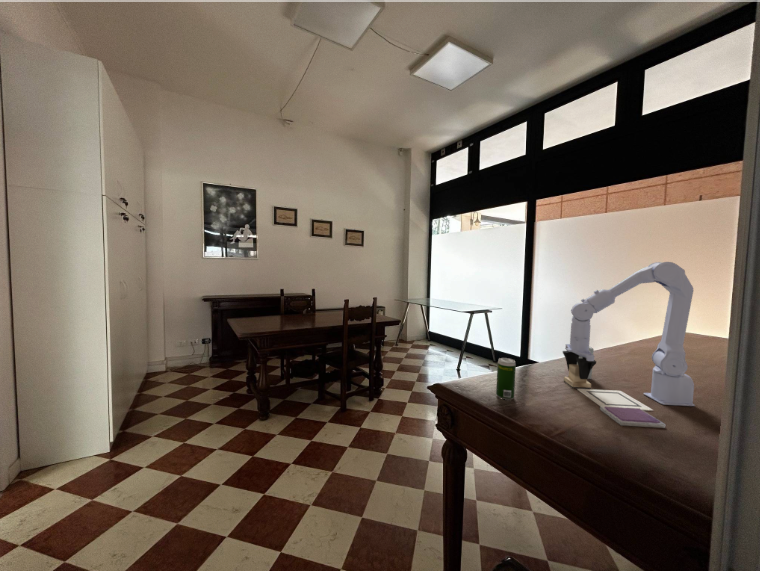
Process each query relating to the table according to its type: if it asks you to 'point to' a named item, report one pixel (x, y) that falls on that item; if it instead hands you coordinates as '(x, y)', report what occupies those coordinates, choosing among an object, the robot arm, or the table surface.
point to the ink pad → (632, 417)
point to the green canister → (505, 378)
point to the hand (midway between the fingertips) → (577, 375)
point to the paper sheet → (613, 399)
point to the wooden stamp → (576, 378)
